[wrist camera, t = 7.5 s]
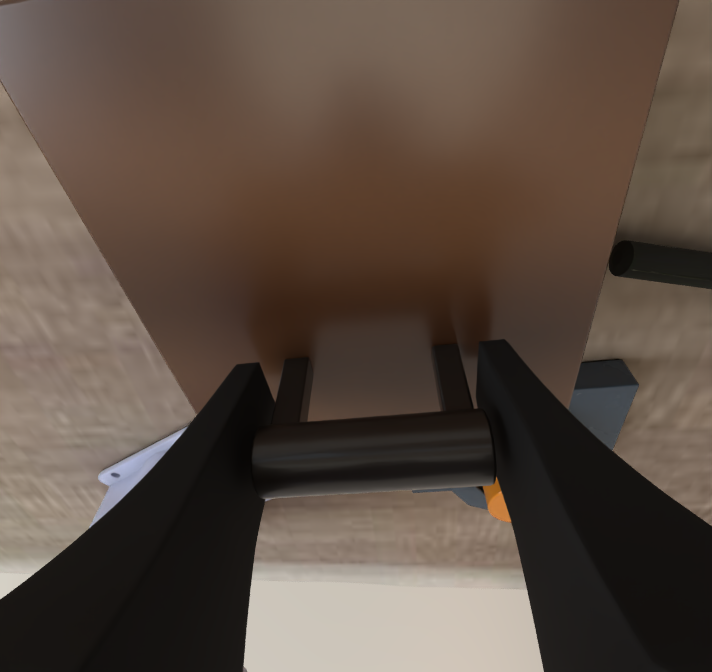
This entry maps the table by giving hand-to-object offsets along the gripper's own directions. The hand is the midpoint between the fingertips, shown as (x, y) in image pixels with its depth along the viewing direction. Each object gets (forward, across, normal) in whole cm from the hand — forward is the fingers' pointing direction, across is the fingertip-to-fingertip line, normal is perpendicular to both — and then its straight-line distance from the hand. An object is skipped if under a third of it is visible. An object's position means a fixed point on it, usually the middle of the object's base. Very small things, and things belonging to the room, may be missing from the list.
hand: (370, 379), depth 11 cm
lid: (+1, 0, -2) cm, 2 cm away
